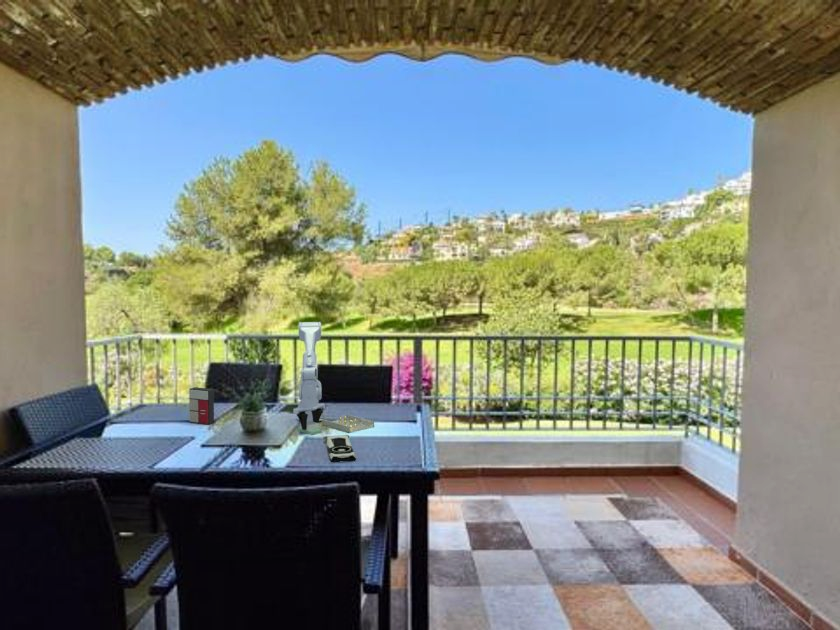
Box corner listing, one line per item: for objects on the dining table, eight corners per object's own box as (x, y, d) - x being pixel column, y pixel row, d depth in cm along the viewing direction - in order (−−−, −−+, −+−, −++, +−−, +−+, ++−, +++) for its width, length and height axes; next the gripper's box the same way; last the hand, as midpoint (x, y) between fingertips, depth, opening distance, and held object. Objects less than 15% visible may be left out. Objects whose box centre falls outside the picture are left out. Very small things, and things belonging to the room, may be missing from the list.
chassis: (322, 425, 248) (322, 417, 248) (347, 419, 258) (347, 412, 258) (348, 433, 235) (348, 425, 235) (374, 426, 245) (374, 419, 245)
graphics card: (348, 434, 224) (356, 453, 199) (348, 442, 224) (356, 462, 200) (322, 435, 221) (327, 455, 197) (322, 444, 222) (327, 464, 197)
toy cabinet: (188, 422, 250) (187, 388, 249) (195, 420, 254) (195, 387, 253) (208, 425, 246) (207, 390, 245) (215, 422, 250) (214, 389, 249)
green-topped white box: (297, 430, 239) (297, 421, 239) (307, 428, 242) (307, 419, 242) (311, 435, 232) (311, 426, 232) (321, 432, 236) (321, 424, 235)
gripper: (300, 399, 228) (300, 433, 229) (329, 394, 239) (329, 426, 239) (290, 397, 233) (290, 430, 234) (319, 392, 243) (319, 423, 244)
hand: (309, 428), depth 237 cm, fingers closed on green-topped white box, 5 cm apart
